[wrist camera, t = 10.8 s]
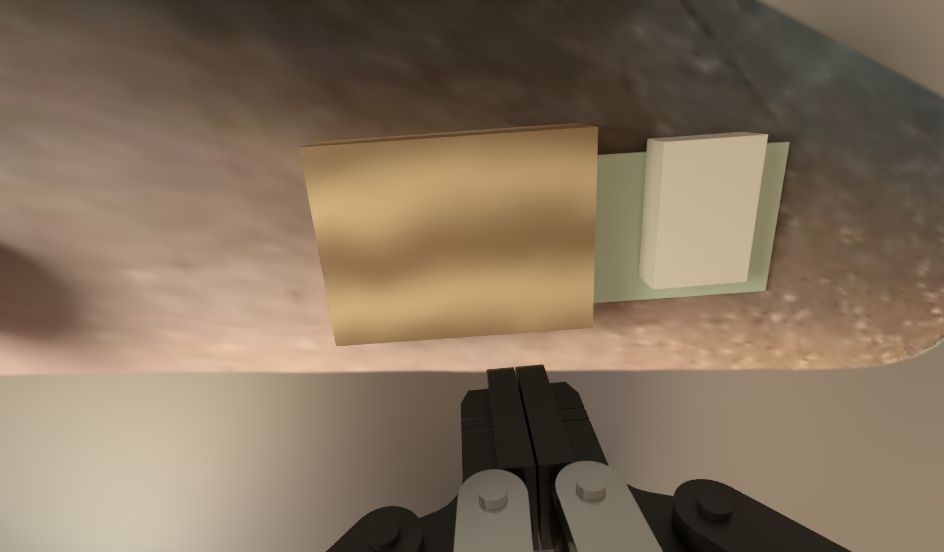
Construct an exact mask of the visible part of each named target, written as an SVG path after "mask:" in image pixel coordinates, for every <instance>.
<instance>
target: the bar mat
mask: <svg viewBox="0 0 944 552" xmlns="http://www.w3.org/2000/svg"><path fill="white" fill-rule="evenodd" d="M789 143H790V142H774V143H767V146H766V153H765V160H764V166H763V173H762V180H761V187H760V194H759V200H758V207H757V214H756V221H755V228H754V234H753V241H752V248H751V255H750V262H749V269H748V275H747V282H738V283H726V284H714V285H702V286H690V287H677V288H665V289H652V288H651V287H650V286H649V285H648V284H647V283H646V282H645V281H643V280H642V279H641V278H640V277H639V264H640V248H641V232H642V216H643V199H644V183H645V167H646V152H632V153H617V154H603V155H597V191H596V229H595V267H594V303H603V302H617V301H631V300H645V299H659V298H672V297H686V296H700V295H714V294H728V293H742V292H756V291H765V290H766V284H767V278H768V272H769V266H770V260H771V254H772V247H773V241H774V235H775V229H776V223H777V217H778V211H779V204H780V198H781V192H782V186H783V180H784V174H785V168H786V161H787V155H788V149H789Z"/></svg>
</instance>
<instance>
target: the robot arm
mask: <svg viewBox="0 0 944 552" xmlns="http://www.w3.org/2000/svg"><path fill="white" fill-rule="evenodd" d="M487 382H488V389H481V390H471V391H468V393H467V394H466V396H465V397H464V399H463V401H462V403H461V430H462V468H463V482H462V486H461V488H460V490H459V493H458V494H457V496H456V497H455V498H454V499H453V500H452V501H451V502H450V503H449V504H448V505H447V506H445V507H444V508H442V509H440V510H438V511H436V512H434V513H431V514H429V515H426V516H423V517H421V518H418V517H417V516H416V515H415V514H414V513H413V512H412V511H410V510H408V509H406V508H403V507H398V506H388V507H383V508H379V509H376V510H374V511H372V512H370V513H368V514H367V515H365V516H364V517H362V518H361V519H360V520H359V521H358V522H357V523H356V524H355V525H354V526H353V527H352V528H351V529H349V530H348V531H347V532H346V533H345V534H344V535H343V536H342V537H341V538H340V539H339V540H338V541H337V542H336V543H335V544H334V545H333V546H332V547H330V548H329V549H328V550H327V551H326V552H534V551H538V550H539V542H538V532H539V537H540V543H541V548H542V550H547V549H554V552H851V551H849V550H848V549H846V548H844V547H842V546H840V545H838V544H836V543H834V542H832V541H831V540H829V539H827V538H825V537H823V536H821V535H819V534H818V533H816V532H814V531H812V530H810V529H808V528H806V527H804V526H803V525H801V524H799V523H797V522H795V521H793V520H791V519H790V518H788V517H786V516H784V515H782V514H780V513H778V512H777V511H774V510H773V509H771V508H769V507H767V506H765V505H763V504H762V503H760V502H758V501H756V500H754V499H752V498H750V497H749V496H747V495H745V494H743V493H741V492H739V491H737V490H735V489H733V488H732V487H730V486H728V485H725V484H723V483H720V482H717V481H713V480H706V479H696V480H690V481H687V482H685V483H683V484H681V485H680V486H679V487H678V488H677V489H676V491H675V494H674V496H669V495H663V494H657V493H651V492H647V491H642V490H639V489H636V488H634V487H632V486H630V485H628V484H626V483H625V481H624V479H623V478H622V476H621V475H620V474H619V473H618V472H616V471H615V470H614V469H612V468H611V467H609V466H608V463H607V461H606V459H605V457H604V454H603V451H602V449H601V447H600V444H599V442H598V439H597V437H596V434H595V432H594V430H593V427H592V425H591V422H590V421H589V417H588V415H587V412H586V410H585V409H584V405H583V403H582V400H581V398H580V396H579V393H578V392H577V391H576V390H574V389H573V388H572V387H571V386H570V385H569V384H567V383H566V382H558V383H549V380H548V377H547V374H546V371H545V368H544V365H532V366H521V367H516V368H515V370H514V367H511V368H500V369H489V370H487Z"/></svg>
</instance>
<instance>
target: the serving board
mask: <svg viewBox="0 0 944 552" xmlns="http://www.w3.org/2000/svg"><path fill="white" fill-rule="evenodd" d="M299 149H300V154H301V160H302V165H303V170H304V176H305V181H306V187H307V192H308V197H309V203H310V208H311V213H312V219H313V224H314V229H315V235H316V240H317V245H318V251H319V256H320V262H321V267H322V272H323V278H324V283H325V288H326V294H327V299H328V304H329V310H330V315H331V320H332V326H333V331H334V337H335V342H336V346H346V345H360V344H374V343H387V342H401V341H415V340H429V339H443V338H457V337H470V336H484V335H498V334H512V333H526V332H539V331H553V330H567V329H581V328H593V305H594V267H595V229H596V191H597V154H598V126H593V125H588V124H583V123H570V124H556V125H542V126H528V127H513V128H499V129H485V130H470V131H456V132H442V133H428V134H413V135H399V136H385V137H371V138H356V139H342V140H328V141H318V142H315V143H312V144H309V145H305V146H302V147H299Z"/></svg>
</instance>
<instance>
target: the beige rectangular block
mask: <svg viewBox="0 0 944 552" xmlns="http://www.w3.org/2000/svg"><path fill="white" fill-rule="evenodd" d="M767 139H768V134H760V133H751V132H732V133H718V134H705V135H691V136H677V137H664V138H650V139H647V151H646V167H645V183H644V199H643V216H642V232H641V248H640V264H639V277H640V278H641V279H642V280H643V281H645V282H646V283H647V284H648V285H649V286H650V287H651V288H652V289H665V288H677V287H690V286H702V285H714V284H726V283H738V282H747V275H748V269H749V262H750V255H751V248H752V241H753V234H754V228H755V221H756V214H757V207H758V200H759V194H760V187H761V180H762V173H763V166H764V160H765V153H766V146H767Z"/></svg>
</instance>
